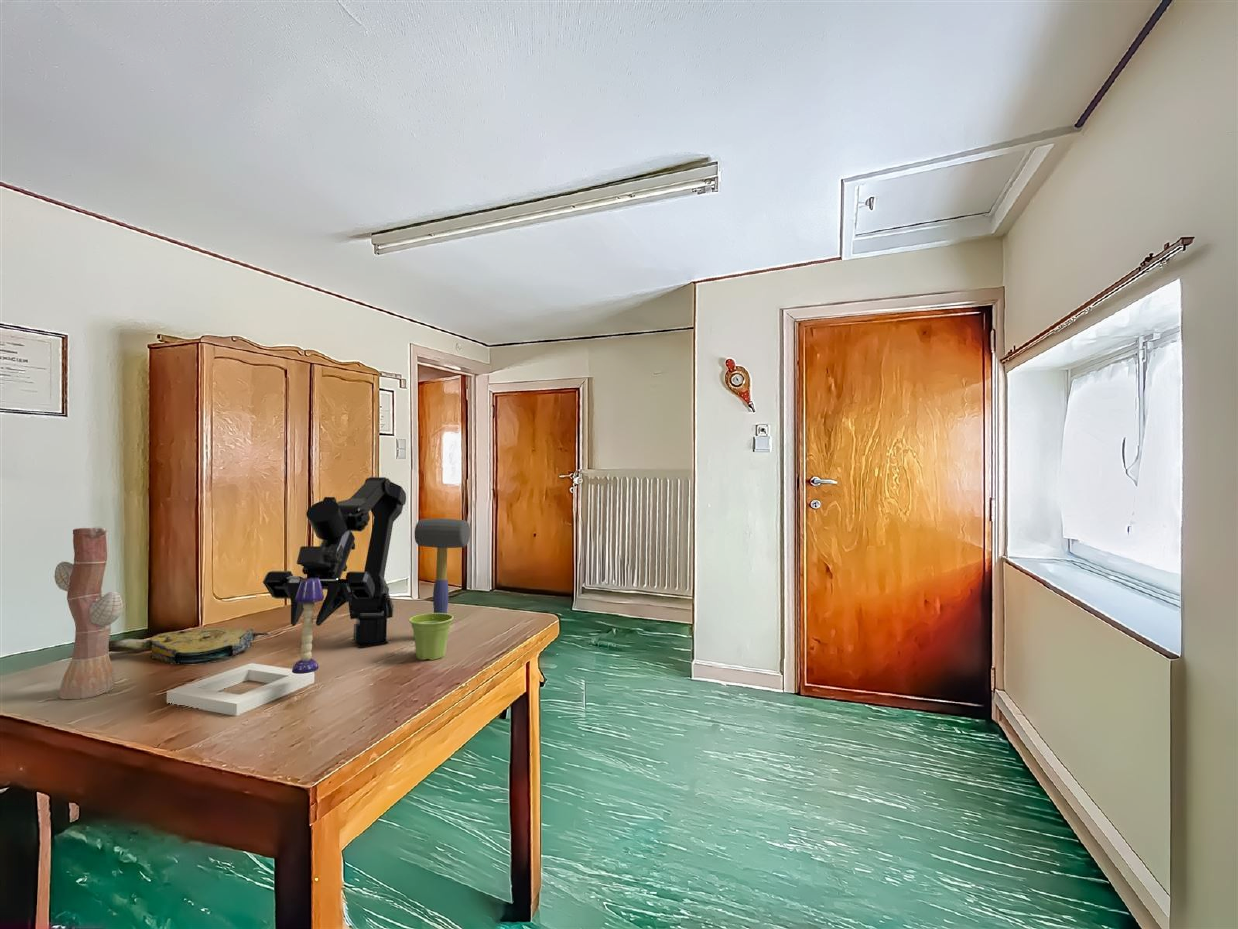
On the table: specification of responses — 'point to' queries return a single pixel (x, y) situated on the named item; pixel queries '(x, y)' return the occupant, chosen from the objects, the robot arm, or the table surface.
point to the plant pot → (431, 634)
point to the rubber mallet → (442, 550)
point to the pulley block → (190, 645)
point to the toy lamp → (307, 622)
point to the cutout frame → (211, 699)
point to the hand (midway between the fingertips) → (304, 624)
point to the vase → (88, 615)
